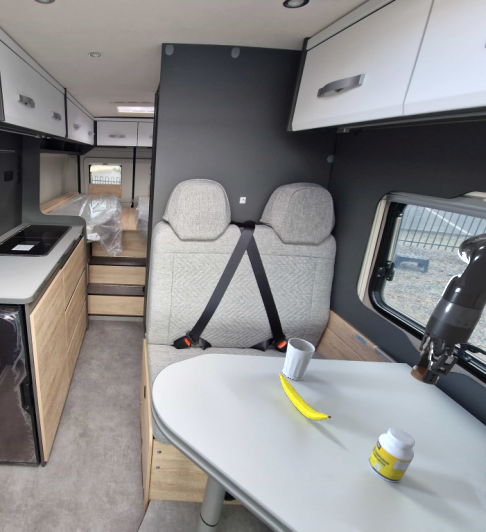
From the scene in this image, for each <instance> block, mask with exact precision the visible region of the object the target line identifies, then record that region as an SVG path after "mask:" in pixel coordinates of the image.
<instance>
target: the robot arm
mask: <svg viewBox="0 0 486 532" xmlns="http://www.w3.org/2000/svg"><path fill="white" fill-rule="evenodd" d="M457 254H458V256H459V257H460V259H461V260H462V261H464V262H465V263H466V264H467V265H466V267H465V269H464V270H463V271H462V273H461V274H457V275H454V276H452V277H451V278H450V279H449V281H448V282H447V285H446V286H445V288H444V290H443V293H442V294H441V297H440V298H439V300H438V301H437V302H436V304H435V305H434V308H433V310H432V312H431V314H430V316H429V319H428V320H427V322H426V325H425V327H424V328H425V330H424V334H423V337H422V339H421V342H420V345H419V348H418V350H419V351H420V353H419V355H420V357H419V359H418V361H417V363H416V364H415V366H422V367H425V368H427V370H426V372H425V374H424V376H423V378H422V380H423V382H425V383H424V384H426V383H428V384H427V385H433V384H434V385H436V384H435V382H436V380H437V378H438V376H439V377H440V375H441V376H444V377H446V376H447V375H448V374H449V373H450V372H451V370H452V369H453V368H454V367H455V365H456V364H457V363H458V361H459V357H457V356H454V355H453V354H454V352H455V347H456V345H464V344H466V343H468V341H469V340H470V338H471V336H472V334H473V332H474V331H475V329H476V327H477V325H478V324H479V322H480V320H481V317H482V315H483V312H484V309H485V307H486V232H484V233H480V234H476V235H473V236H470V237H468V238H466V239H465V240H463V241H462V242H461V243H460V245H459V246H458V250H457ZM423 382H422V383H423ZM434 385H433V386H434Z"/></svg>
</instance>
